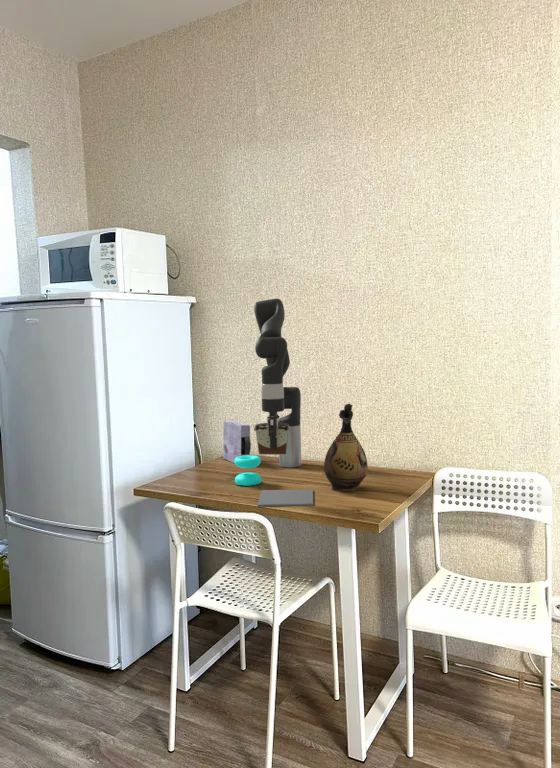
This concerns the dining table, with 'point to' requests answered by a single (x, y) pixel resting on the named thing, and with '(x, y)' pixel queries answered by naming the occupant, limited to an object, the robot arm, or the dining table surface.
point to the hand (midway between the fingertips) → (274, 446)
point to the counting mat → (286, 498)
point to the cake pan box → (235, 440)
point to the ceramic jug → (345, 457)
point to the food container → (264, 439)
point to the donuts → (247, 478)
